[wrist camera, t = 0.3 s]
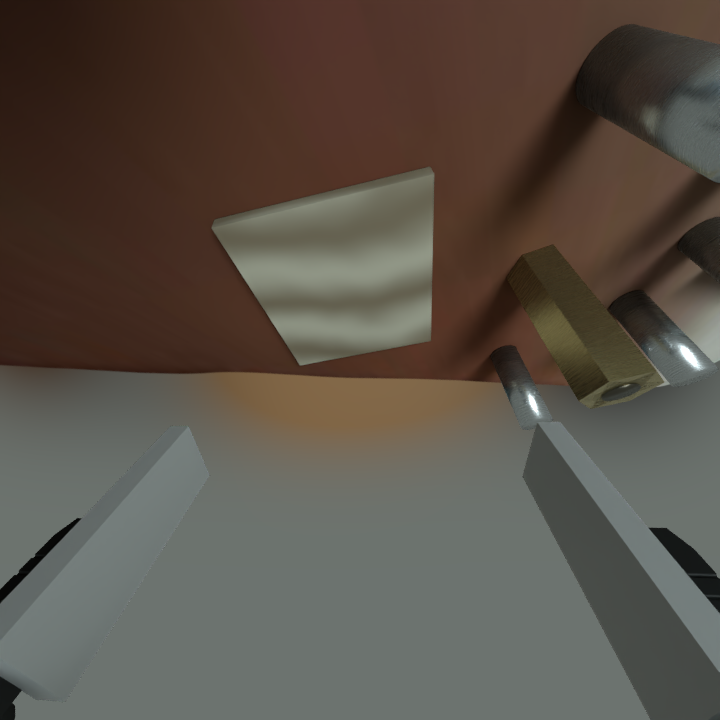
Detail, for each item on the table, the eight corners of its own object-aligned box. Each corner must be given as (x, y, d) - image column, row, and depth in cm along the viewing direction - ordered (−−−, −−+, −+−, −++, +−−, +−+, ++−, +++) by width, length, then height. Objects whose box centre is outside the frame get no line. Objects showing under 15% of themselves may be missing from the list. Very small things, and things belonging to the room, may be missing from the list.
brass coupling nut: (507, 260, 24) (587, 388, 17) (569, 238, 23) (682, 367, 16) (505, 294, 27) (572, 414, 20) (560, 276, 26) (651, 397, 19)
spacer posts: (591, 34, 14) (761, 86, 9) (996, -77, 12) (1504, -96, 7) (488, 362, 36) (517, 431, 31) (625, 338, 35) (680, 406, 30)
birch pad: (214, 219, 19) (211, 228, 18) (430, 166, 18) (434, 173, 17) (300, 357, 32) (299, 365, 31) (428, 333, 31) (430, 340, 30)
